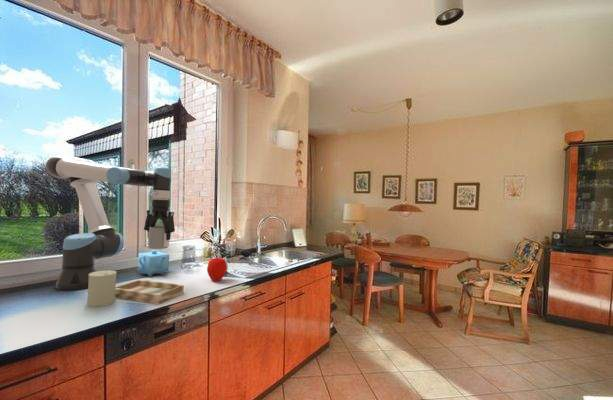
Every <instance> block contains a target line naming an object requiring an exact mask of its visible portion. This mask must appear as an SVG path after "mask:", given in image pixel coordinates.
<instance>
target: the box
mask: <svg viewBox="0 0 613 400" xmlns="http://www.w3.org/2000/svg"><path fill="white" fill-rule="evenodd" d="M184 289H185V285H184V284H179V283H170V282H169V283H168V282H163V281H161V282H160V281H153V280H148V279H141V278H140V279H136V280H134V281H130V282H126V283H124V284H123V283H122V284H120V285H116V291H115V299H116V298H117V299H122V300H130V301H135V302H144V303H147V304H156V305H160V304H162V303H165V302H167V301H170V300H171V299H173V298H176V297H179V296H180V295H182V294H184V293H185V292H184V291H185V290H184Z"/></svg>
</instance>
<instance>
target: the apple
mask: <svg viewBox="0 0 613 400" xmlns="http://www.w3.org/2000/svg"><path fill="white" fill-rule="evenodd" d="M227 267H228V266H227V262H226V259H224V258H222V257H213V258H211V259H210V260H209V261H208V264H207V267H206V272H207V275H208V276H209V277H208V278H210V280H211V281H213V282H216V281H220V280H222V279H223V278H224V276H225V274H226V273H227V270H228V269H227Z"/></svg>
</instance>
